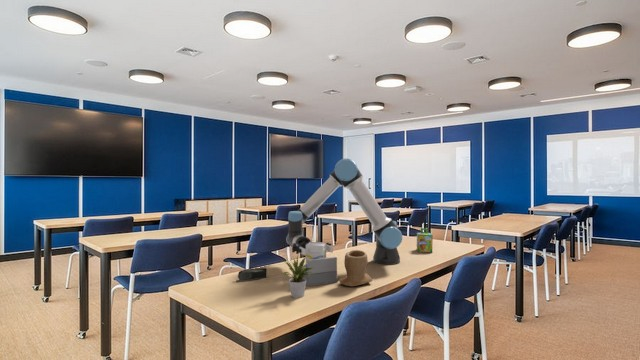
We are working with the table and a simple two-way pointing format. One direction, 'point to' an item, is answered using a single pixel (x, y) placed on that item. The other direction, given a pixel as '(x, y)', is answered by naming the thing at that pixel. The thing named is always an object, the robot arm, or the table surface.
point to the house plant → (297, 278)
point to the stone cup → (355, 268)
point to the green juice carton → (424, 241)
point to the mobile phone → (252, 274)
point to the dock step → (321, 271)
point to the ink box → (315, 250)
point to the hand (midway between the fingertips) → (318, 250)
